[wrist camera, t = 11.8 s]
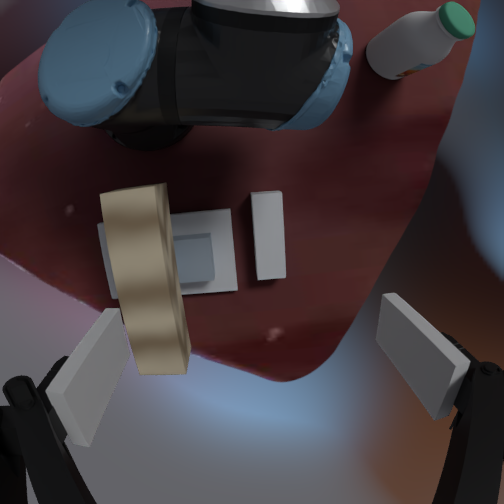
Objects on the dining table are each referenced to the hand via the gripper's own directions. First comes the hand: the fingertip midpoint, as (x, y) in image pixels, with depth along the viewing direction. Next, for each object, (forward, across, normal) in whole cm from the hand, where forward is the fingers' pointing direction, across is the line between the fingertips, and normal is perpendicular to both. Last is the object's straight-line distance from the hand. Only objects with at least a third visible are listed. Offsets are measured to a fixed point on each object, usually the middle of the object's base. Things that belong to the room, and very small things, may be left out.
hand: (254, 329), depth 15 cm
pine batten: (+23, -11, -5) cm, 26 cm away
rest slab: (+31, +4, -2) cm, 32 cm away
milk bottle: (+32, +24, +26) cm, 47 cm away
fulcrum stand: (+31, -11, -5) cm, 34 cm away
